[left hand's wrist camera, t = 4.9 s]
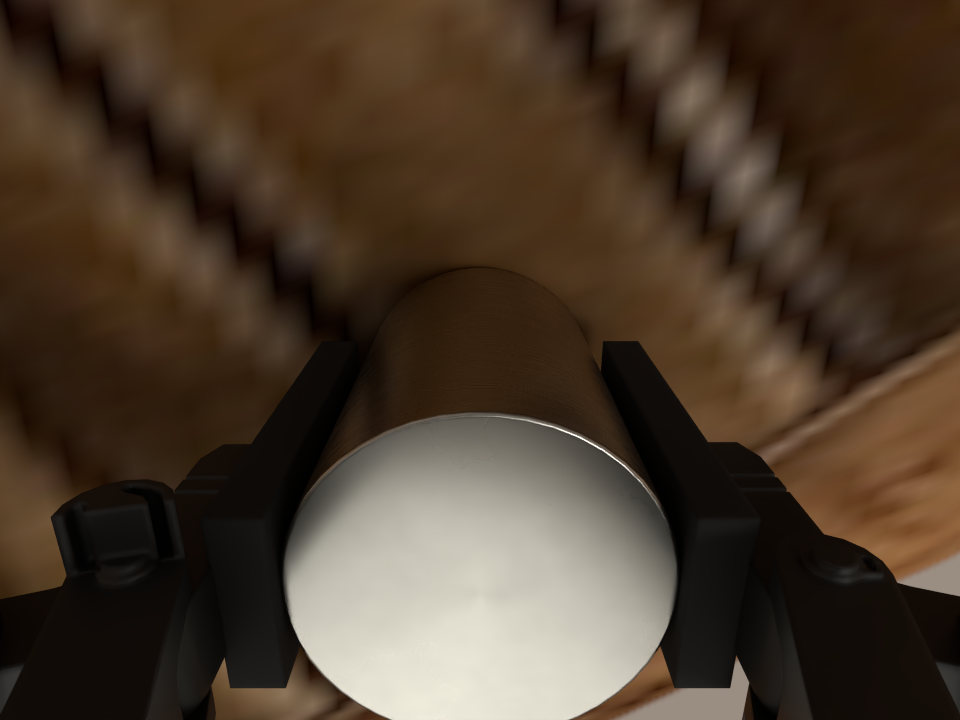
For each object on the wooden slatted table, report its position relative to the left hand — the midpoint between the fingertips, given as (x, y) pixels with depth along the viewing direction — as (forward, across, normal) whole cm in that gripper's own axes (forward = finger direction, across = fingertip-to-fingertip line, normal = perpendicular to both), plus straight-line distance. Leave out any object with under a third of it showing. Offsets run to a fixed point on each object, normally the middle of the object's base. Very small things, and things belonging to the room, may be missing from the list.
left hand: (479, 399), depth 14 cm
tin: (+1, 0, 0) cm, 1 cm away
